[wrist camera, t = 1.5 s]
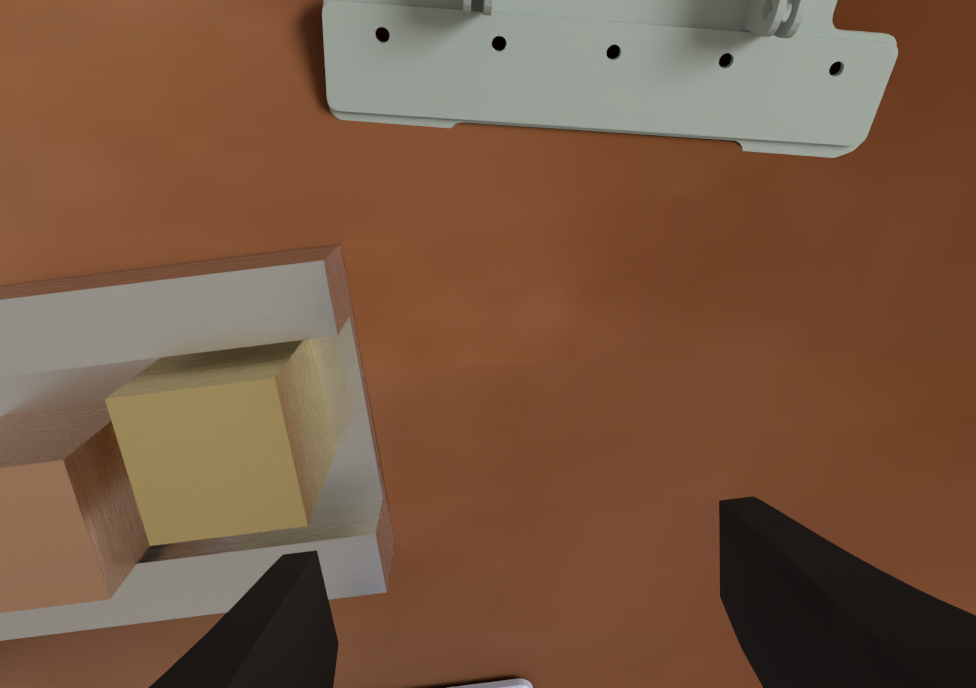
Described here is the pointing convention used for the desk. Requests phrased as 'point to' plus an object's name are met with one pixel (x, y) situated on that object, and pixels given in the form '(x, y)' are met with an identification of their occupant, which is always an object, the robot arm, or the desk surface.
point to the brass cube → (225, 441)
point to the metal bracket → (612, 68)
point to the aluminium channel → (193, 329)
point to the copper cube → (64, 509)
